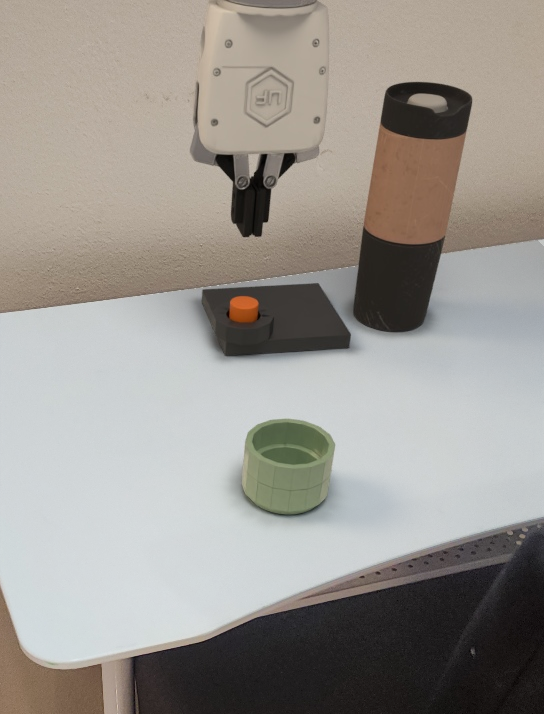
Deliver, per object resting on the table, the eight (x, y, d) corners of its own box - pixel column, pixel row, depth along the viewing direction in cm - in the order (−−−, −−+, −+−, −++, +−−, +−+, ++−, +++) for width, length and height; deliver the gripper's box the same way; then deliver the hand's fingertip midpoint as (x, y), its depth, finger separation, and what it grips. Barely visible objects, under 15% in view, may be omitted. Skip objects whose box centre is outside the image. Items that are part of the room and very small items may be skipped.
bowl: (313, 464, 80) (320, 415, 77) (337, 514, 75) (346, 464, 72) (233, 471, 79) (237, 422, 76) (252, 521, 74) (257, 471, 71)
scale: (316, 296, 102) (320, 267, 100) (351, 352, 93) (356, 321, 91) (194, 302, 100) (195, 273, 98) (218, 360, 91) (220, 330, 89)
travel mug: (368, 291, 103) (404, 75, 89) (438, 310, 100) (486, 91, 86) (337, 319, 98) (369, 96, 84) (410, 340, 95) (456, 114, 81)
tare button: (253, 310, 93) (255, 294, 92) (260, 323, 91) (261, 307, 90) (226, 312, 93) (227, 296, 92) (232, 325, 91) (233, 309, 90)
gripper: (178, -6, 70) (171, 252, 83) (381, -7, 72) (343, 245, 85) (160, -30, 75) (156, 217, 88) (349, -29, 77) (319, 211, 90)
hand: (248, 230), depth 86 cm, fingers closed
